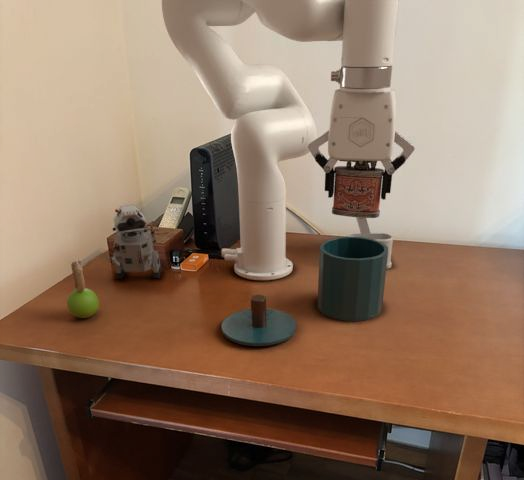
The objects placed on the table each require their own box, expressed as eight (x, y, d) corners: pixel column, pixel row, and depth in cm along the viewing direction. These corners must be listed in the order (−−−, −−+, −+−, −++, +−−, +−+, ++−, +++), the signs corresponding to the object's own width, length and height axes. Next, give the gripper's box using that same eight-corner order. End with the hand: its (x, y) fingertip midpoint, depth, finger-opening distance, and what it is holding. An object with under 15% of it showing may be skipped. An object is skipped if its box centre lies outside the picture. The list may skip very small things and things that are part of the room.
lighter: (380, 213, 93) (387, 152, 88) (377, 219, 90) (383, 156, 85) (334, 209, 95) (337, 149, 90) (329, 214, 93) (333, 153, 88)
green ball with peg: (74, 328, 96) (60, 263, 90) (67, 313, 101) (54, 252, 95) (105, 321, 98) (94, 258, 92) (97, 307, 103) (85, 246, 97)
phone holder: (392, 269, 117) (402, 183, 108) (345, 269, 118) (351, 184, 108) (378, 241, 132) (386, 164, 123) (336, 242, 132) (341, 165, 123)
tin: (314, 318, 98) (317, 257, 92) (320, 291, 108) (322, 235, 102) (382, 323, 96) (388, 261, 90) (381, 295, 106) (387, 237, 100)
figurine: (110, 291, 109) (97, 217, 102) (122, 269, 119) (111, 200, 112) (155, 290, 109) (146, 216, 102) (163, 268, 119) (156, 200, 112)
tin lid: (213, 346, 90) (211, 312, 87) (231, 311, 101) (229, 280, 98) (291, 352, 88) (291, 317, 85) (300, 316, 99) (301, 284, 96)
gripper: (305, 82, 81) (302, 200, 90) (427, 82, 78) (411, 204, 87) (310, 77, 87) (307, 189, 96) (423, 77, 84) (409, 192, 93)
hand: (356, 196), depth 91 cm, fingers closed on lighter, 8 cm apart
